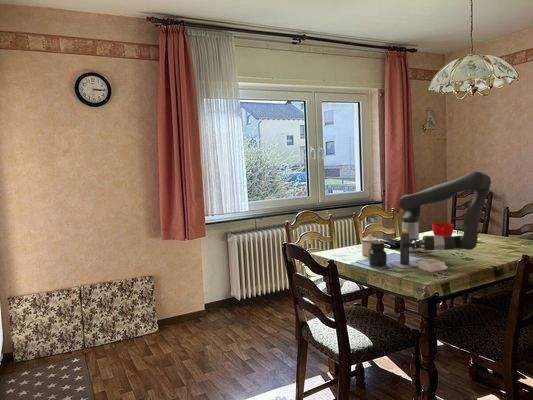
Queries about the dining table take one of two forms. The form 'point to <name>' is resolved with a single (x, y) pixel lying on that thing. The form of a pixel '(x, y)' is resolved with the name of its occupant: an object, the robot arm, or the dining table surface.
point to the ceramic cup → (442, 229)
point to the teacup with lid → (367, 244)
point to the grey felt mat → (397, 264)
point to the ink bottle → (377, 254)
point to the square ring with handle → (431, 265)
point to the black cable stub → (404, 251)
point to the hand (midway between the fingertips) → (400, 243)
